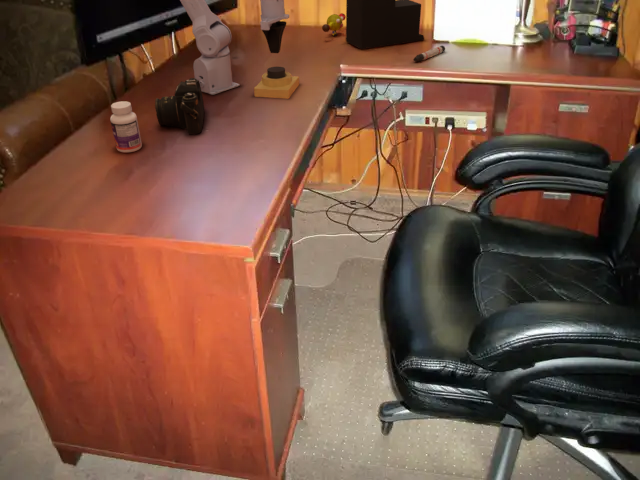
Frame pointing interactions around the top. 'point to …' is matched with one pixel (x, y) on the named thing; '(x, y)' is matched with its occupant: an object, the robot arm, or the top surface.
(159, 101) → the film camera
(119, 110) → the pill bottle
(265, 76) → the plate
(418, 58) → the marker
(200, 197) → the top surface
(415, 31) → the bookend
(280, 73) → the button
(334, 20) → the toy figure
